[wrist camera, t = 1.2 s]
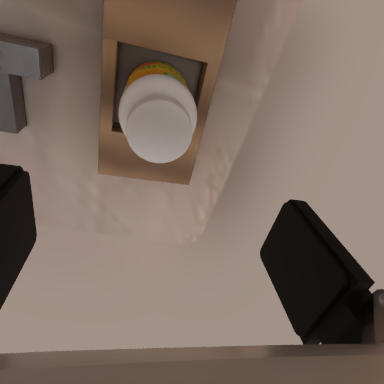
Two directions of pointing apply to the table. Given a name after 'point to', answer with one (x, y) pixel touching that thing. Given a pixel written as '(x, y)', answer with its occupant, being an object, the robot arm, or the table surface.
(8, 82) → the gray tee-shaped block
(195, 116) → the supplement bottle
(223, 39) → the block with square hole
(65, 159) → the table surface
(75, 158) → the table surface
